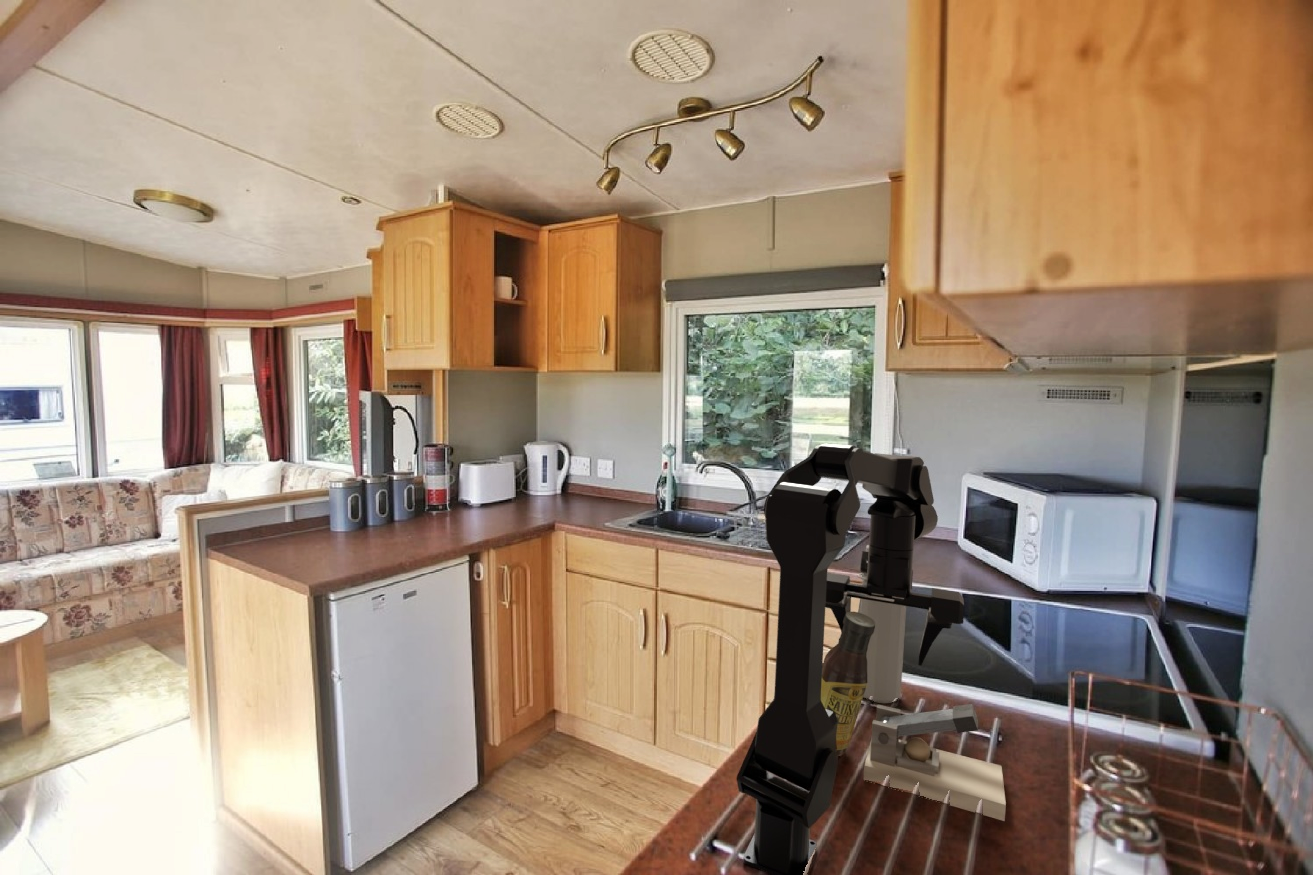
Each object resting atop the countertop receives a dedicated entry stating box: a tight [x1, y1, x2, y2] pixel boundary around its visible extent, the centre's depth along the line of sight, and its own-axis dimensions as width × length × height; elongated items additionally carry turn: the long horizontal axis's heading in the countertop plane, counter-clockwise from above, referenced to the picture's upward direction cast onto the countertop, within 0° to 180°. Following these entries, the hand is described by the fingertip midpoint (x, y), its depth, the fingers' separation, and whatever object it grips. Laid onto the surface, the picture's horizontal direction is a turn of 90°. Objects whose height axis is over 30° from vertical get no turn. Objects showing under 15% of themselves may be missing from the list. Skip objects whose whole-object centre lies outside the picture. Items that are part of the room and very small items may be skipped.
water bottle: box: [857, 544, 907, 704], centre depth 104 cm, size 9×8×25 cm
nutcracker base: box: [863, 704, 1007, 822], centre depth 81 cm, size 9×16×7 cm, turn 64°
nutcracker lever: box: [880, 703, 979, 737], centre depth 81 cm, size 4×12×2 cm, turn 64°
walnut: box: [905, 736, 930, 762], centre depth 81 cm, size 3×3×3 cm
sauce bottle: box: [821, 611, 875, 757], centre depth 85 cm, size 6×6×20 cm
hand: (883, 657), depth 86 cm, fingers open, 9 cm apart
